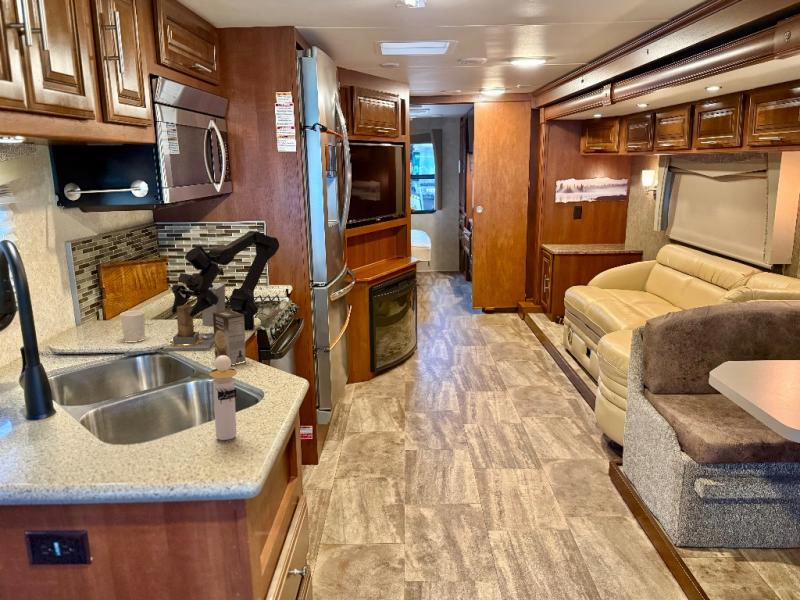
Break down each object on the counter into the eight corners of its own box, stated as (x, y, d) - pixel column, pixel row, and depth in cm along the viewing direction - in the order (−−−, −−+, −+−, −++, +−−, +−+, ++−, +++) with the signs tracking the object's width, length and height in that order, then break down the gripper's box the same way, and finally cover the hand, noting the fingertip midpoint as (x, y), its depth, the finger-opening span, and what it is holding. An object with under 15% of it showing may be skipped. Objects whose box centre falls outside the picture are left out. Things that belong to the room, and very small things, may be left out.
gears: (217, 334, 217) (217, 326, 217) (208, 347, 202) (208, 338, 201) (177, 334, 216) (177, 326, 215) (165, 348, 200) (165, 339, 199)
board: (218, 336, 219) (218, 333, 219) (208, 350, 201) (208, 347, 201) (176, 336, 217) (176, 333, 217) (162, 351, 200) (162, 348, 199)
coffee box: (213, 360, 191) (211, 312, 188) (231, 356, 196) (229, 309, 192) (229, 367, 185) (227, 317, 182) (246, 362, 190) (245, 314, 186)
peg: (186, 339, 208) (185, 304, 205) (194, 341, 206) (192, 306, 204) (178, 341, 205) (176, 306, 202) (185, 343, 203) (183, 308, 201)
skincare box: (211, 320, 241) (209, 282, 237) (227, 321, 240) (226, 283, 236) (201, 325, 233) (199, 286, 229) (218, 326, 232) (216, 287, 228)
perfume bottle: (209, 436, 137) (205, 354, 133) (233, 430, 140) (230, 350, 136) (218, 446, 132) (214, 361, 128) (243, 439, 136) (239, 356, 132)
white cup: (150, 337, 215) (148, 311, 213) (139, 343, 208) (137, 316, 205) (130, 336, 216) (127, 310, 214) (117, 342, 208) (115, 315, 206)
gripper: (173, 261, 208) (148, 297, 201) (210, 266, 199) (185, 304, 192) (193, 280, 216) (169, 315, 210) (229, 286, 207) (205, 323, 200)
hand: (181, 314), depth 203 cm, fingers open, 9 cm apart
